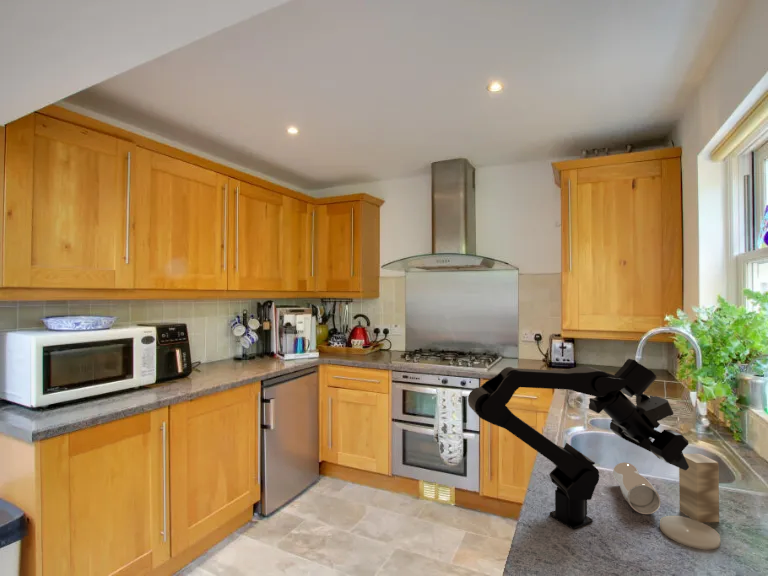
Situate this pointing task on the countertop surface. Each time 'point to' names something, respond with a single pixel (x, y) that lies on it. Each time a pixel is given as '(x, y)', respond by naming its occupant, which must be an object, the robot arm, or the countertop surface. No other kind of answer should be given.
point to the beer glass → (636, 489)
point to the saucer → (690, 532)
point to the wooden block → (700, 488)
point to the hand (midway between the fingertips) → (670, 459)
